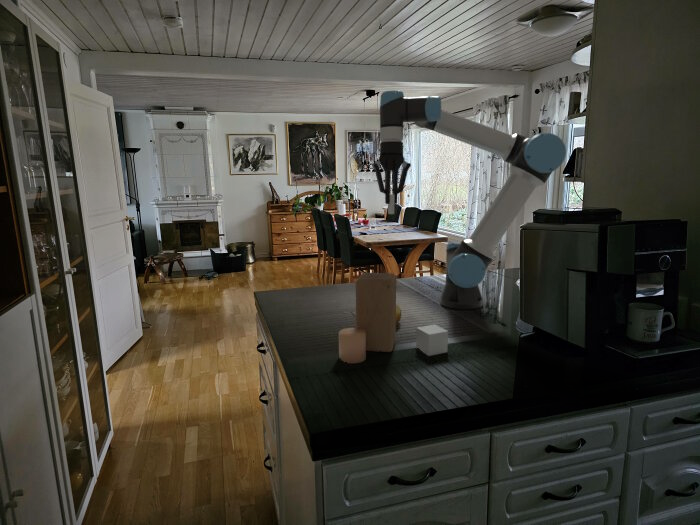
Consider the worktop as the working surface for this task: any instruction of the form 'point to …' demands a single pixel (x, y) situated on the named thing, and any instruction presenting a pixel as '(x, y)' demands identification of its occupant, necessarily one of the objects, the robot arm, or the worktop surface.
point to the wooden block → (377, 310)
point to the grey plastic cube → (432, 339)
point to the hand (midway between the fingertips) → (391, 213)
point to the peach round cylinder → (352, 345)
